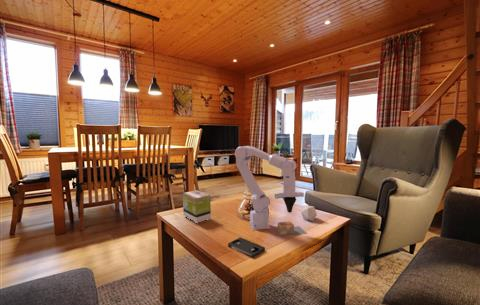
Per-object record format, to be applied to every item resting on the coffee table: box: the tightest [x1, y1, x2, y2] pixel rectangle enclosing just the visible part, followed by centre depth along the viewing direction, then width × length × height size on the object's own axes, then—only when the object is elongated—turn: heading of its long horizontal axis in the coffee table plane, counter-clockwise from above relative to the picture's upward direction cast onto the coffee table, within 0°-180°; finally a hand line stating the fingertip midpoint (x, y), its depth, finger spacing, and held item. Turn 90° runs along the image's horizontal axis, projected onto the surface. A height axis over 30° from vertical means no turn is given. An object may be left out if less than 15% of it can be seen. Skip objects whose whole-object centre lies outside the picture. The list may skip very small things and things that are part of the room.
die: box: [300, 205, 318, 222], centre depth 130 cm, size 8×9×10 cm
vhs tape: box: [227, 236, 266, 259], centre depth 98 cm, size 14×8×2 cm, turn 47°
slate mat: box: [273, 226, 308, 238], centre depth 115 cm, size 14×9×1 cm, turn 102°
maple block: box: [277, 220, 295, 234], centre depth 114 cm, size 4×4×7 cm
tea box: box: [182, 189, 212, 224], centre depth 133 cm, size 15×10×15 cm, turn 42°
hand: (289, 211), depth 113 cm, fingers closed
